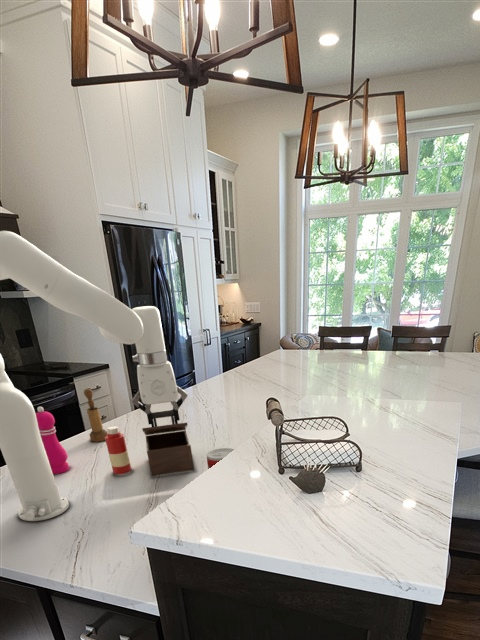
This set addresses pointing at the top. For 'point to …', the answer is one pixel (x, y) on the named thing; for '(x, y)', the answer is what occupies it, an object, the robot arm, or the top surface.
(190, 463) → the bread box
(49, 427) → the pepper mill
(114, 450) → the ketchup bottle
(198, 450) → the top surface
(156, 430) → the bread box lid
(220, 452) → the canned food
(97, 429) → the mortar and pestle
